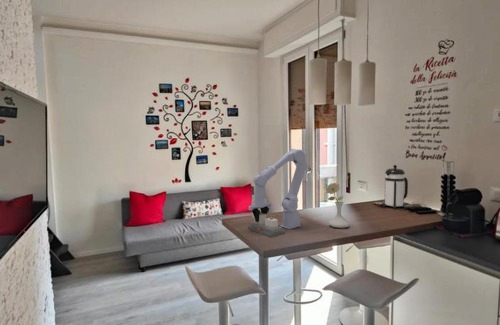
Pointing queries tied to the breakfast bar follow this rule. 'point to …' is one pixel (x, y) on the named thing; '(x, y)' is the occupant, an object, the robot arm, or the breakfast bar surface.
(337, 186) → the flower in vase
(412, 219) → the breakfast bar surface
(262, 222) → the plug
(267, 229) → the grey compartment holder
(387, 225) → the breakfast bar surface
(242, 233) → the breakfast bar surface
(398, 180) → the coffee press
